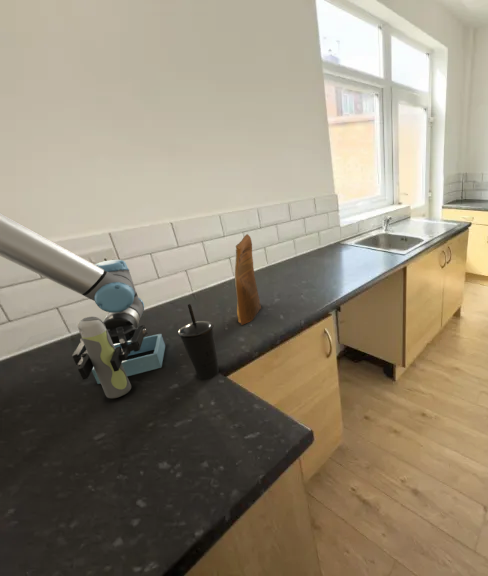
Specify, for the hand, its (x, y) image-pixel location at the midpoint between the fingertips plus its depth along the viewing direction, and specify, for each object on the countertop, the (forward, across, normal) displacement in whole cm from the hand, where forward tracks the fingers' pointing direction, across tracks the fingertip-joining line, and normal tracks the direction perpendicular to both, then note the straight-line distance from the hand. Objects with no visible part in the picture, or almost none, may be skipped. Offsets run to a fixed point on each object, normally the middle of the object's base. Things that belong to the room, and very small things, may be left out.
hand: (98, 369), depth 68 cm
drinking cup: (-3, -19, -11) cm, 22 cm away
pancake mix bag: (-34, -34, -11) cm, 50 cm away
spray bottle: (-5, 0, -10) cm, 11 cm away
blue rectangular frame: (-19, -1, -11) cm, 22 cm away
